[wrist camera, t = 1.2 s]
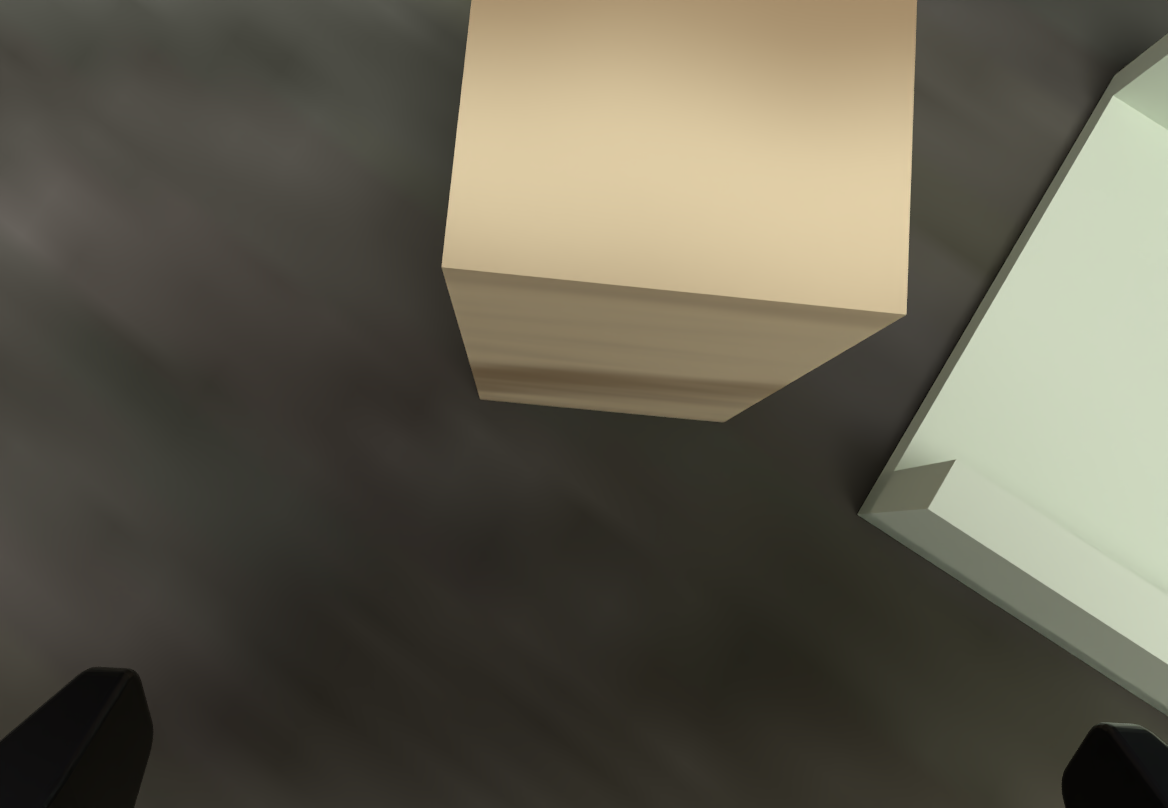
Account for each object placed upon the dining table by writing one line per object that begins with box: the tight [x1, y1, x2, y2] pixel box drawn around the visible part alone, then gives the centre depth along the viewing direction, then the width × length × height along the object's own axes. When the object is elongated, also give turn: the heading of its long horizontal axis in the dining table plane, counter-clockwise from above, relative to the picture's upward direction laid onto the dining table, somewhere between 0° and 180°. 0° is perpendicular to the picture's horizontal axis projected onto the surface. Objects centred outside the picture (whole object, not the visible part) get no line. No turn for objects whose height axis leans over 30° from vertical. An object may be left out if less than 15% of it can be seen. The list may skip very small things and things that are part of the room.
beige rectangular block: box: [442, 0, 917, 422], centre depth 18 cm, size 6×6×11 cm
